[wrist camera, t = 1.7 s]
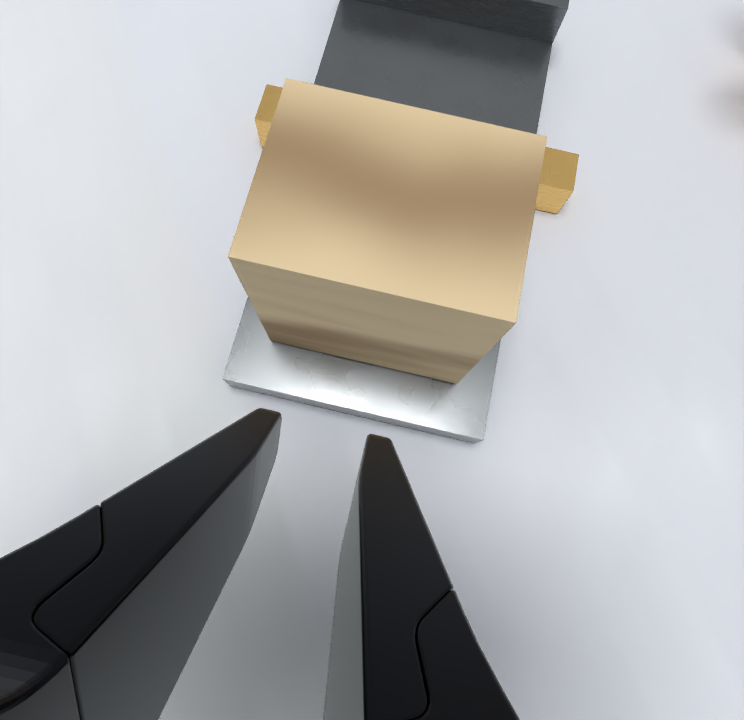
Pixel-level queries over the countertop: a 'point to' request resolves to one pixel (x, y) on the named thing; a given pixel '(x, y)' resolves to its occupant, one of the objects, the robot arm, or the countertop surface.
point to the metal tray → (435, 93)
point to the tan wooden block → (387, 231)
